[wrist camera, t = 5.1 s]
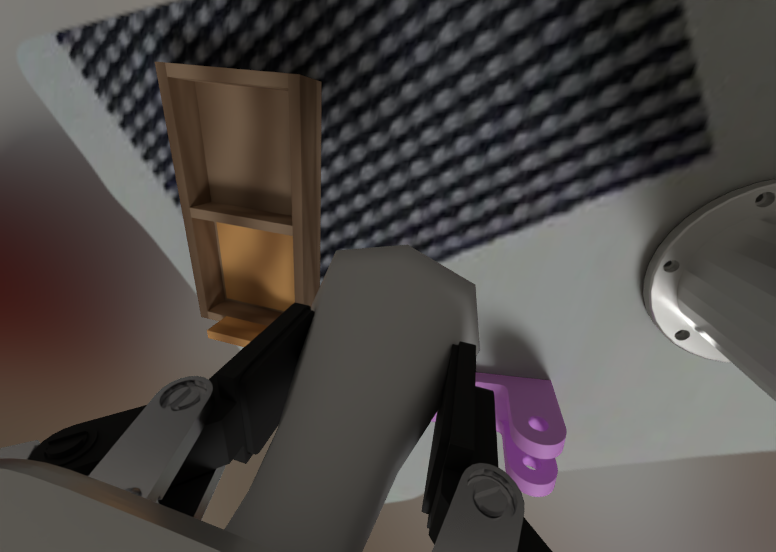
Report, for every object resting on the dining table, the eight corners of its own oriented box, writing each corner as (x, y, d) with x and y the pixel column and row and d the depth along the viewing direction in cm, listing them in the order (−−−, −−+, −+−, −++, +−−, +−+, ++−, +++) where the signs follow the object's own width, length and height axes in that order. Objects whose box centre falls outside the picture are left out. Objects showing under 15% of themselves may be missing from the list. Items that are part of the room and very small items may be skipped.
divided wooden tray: (321, 81, 22) (278, 67, 17) (319, 322, 31) (290, 358, 26) (192, 70, 24) (119, 53, 19) (224, 301, 33) (180, 330, 28)
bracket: (550, 379, 28) (572, 449, 22) (541, 425, 30) (560, 501, 24) (404, 363, 31) (387, 420, 25) (406, 406, 33) (391, 469, 27)
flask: (319, 221, 12) (-73, 438, 4) (508, 265, 11) (610, 757, 2) (312, 362, 16) (94, 660, 7) (457, 408, 14) (422, 843, 6)
